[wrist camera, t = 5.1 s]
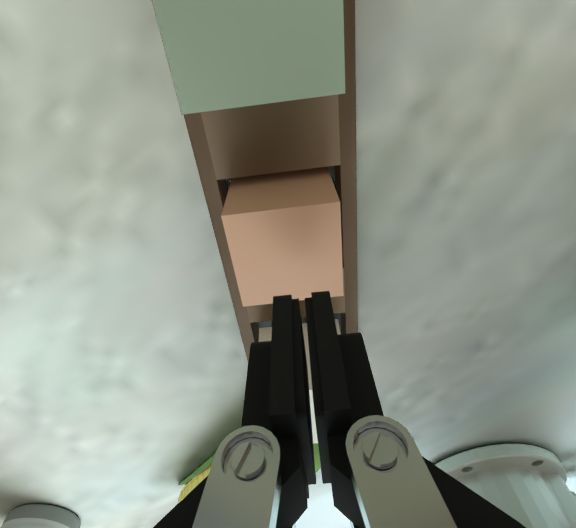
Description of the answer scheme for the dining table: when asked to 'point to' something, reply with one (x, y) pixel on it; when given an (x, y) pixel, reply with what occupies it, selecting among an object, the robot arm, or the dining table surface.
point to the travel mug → (41, 517)
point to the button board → (284, 170)
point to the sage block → (252, 51)
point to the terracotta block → (284, 235)
